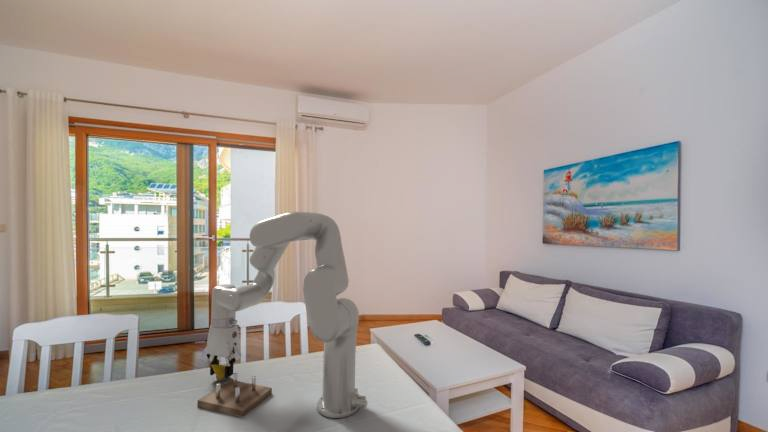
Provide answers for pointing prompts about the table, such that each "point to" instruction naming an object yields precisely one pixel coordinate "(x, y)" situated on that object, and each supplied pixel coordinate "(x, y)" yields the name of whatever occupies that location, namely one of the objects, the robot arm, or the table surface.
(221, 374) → the olive yellow block
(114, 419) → the table surface
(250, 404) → the peg board
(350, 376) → the robot arm
